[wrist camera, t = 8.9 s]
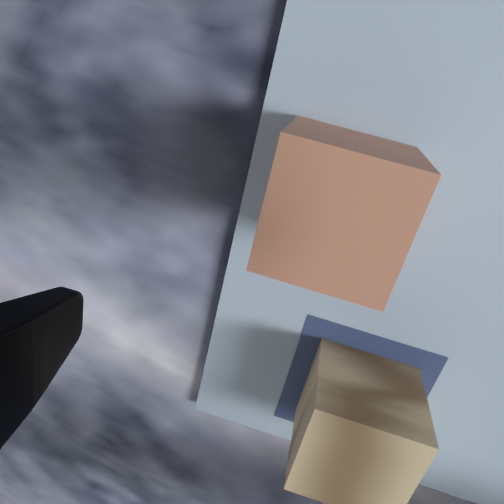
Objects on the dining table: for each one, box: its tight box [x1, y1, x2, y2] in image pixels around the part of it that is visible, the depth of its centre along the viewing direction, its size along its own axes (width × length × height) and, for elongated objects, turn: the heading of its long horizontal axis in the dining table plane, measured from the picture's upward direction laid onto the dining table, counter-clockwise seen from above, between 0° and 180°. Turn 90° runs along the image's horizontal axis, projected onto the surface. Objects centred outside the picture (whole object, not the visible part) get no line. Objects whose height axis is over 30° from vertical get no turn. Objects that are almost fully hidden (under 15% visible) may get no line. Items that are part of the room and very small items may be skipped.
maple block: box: [284, 338, 439, 504], centre depth 20 cm, size 5×5×5 cm
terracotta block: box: [246, 116, 441, 312], centre depth 16 cm, size 5×5×5 cm
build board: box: [195, 0, 504, 504], centre depth 20 cm, size 24×18×1 cm
